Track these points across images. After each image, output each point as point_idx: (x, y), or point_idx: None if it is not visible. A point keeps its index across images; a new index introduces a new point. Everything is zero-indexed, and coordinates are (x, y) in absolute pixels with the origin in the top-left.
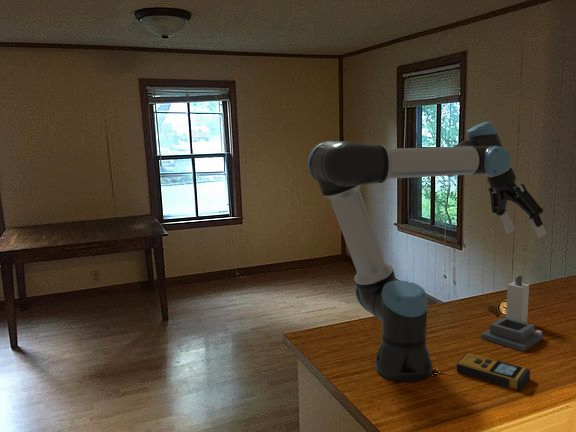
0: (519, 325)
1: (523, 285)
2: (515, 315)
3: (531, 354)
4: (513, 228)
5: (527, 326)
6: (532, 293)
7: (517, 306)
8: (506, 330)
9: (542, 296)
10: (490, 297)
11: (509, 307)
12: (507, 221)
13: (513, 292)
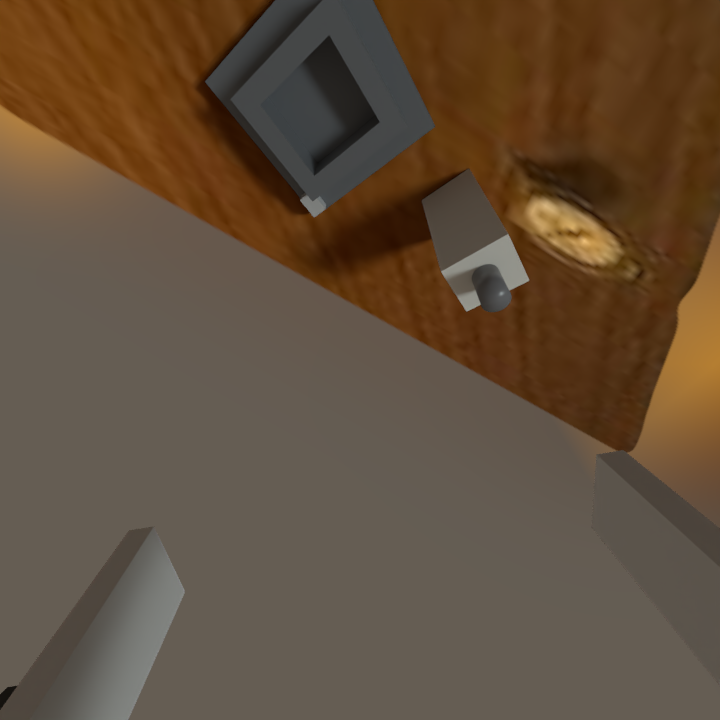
0: (337, 153)
1: (468, 289)
2: (444, 201)
3: (192, 98)
4: (609, 537)
5: (300, 167)
6: (612, 357)
7: (444, 219)
8: (275, 51)
9: (579, 365)
10: (680, 236)
11: (471, 197)
12: (717, 626)
13: (472, 234)
